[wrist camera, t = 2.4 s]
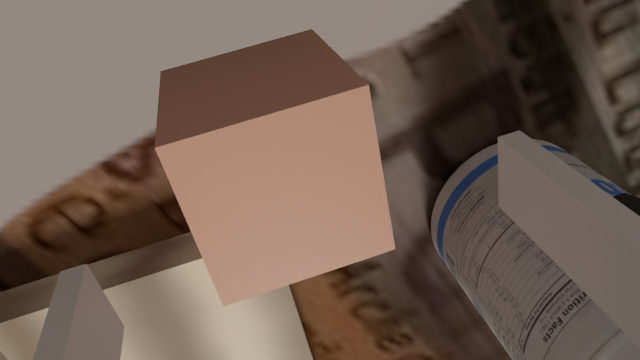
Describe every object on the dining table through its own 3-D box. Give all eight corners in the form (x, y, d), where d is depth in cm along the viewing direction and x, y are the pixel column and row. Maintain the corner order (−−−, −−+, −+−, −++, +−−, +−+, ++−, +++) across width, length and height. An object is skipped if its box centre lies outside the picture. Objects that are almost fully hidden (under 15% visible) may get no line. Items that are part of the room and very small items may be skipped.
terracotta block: (210, 199, 26) (223, 306, 19) (160, 71, 22) (154, 147, 16) (339, 159, 27) (395, 249, 20) (311, 29, 23) (368, 84, 16)
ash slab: (114, 438, 33) (109, 483, 31) (1, 286, 26) (-18, 328, 23) (316, 366, 35) (327, 404, 32) (263, 203, 27) (272, 235, 25)
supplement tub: (595, 153, 31) (878, 328, 18) (516, 275, 34) (709, 489, 22) (470, 112, 27) (717, 296, 15) (397, 253, 31) (547, 495, 18)
